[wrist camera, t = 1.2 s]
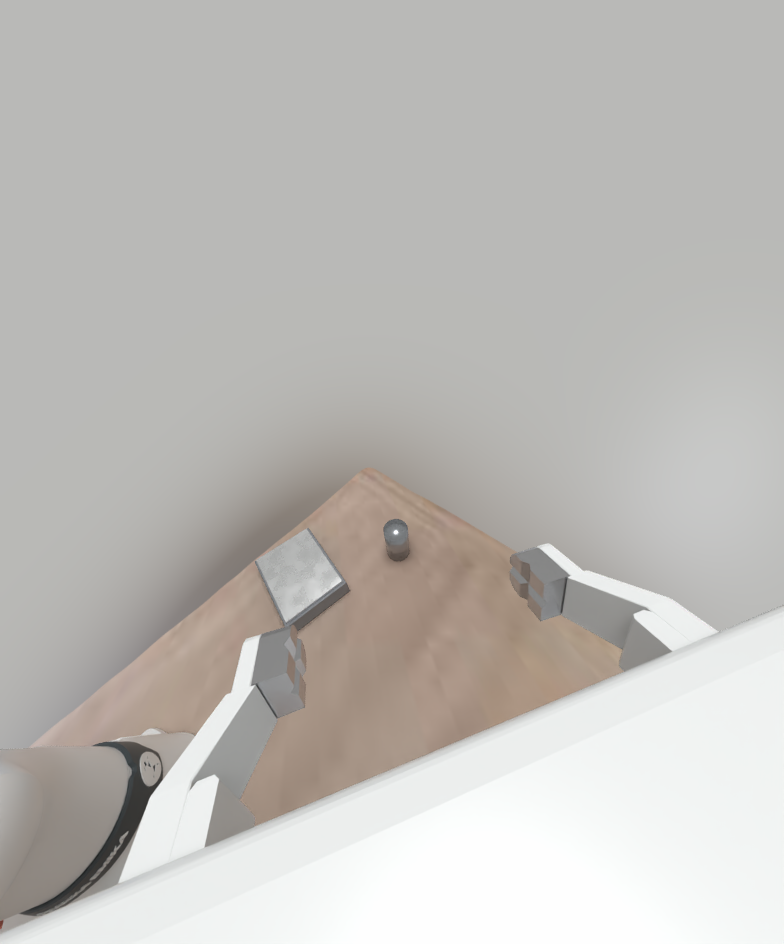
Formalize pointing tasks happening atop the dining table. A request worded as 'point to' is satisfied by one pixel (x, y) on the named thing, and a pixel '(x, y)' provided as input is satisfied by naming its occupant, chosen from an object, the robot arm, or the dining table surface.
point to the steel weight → (396, 539)
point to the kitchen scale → (301, 579)
